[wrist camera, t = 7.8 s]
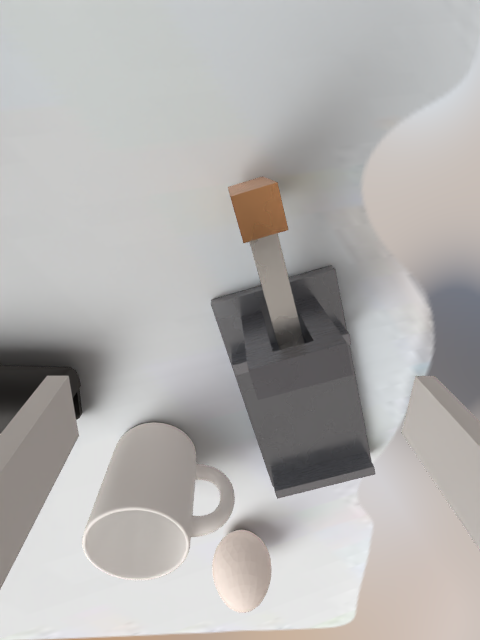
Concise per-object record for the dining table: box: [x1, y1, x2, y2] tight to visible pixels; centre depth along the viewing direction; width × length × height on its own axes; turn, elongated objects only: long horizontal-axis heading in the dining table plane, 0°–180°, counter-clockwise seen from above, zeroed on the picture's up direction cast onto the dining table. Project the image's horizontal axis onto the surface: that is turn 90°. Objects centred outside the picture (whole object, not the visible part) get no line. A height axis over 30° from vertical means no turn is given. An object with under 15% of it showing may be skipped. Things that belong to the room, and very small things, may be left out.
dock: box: [211, 266, 375, 498], centre depth 32 cm, size 22×11×10 cm, turn 16°
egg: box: [212, 530, 271, 613], centre depth 40 cm, size 6×6×8 cm
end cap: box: [0, 365, 82, 434], centre depth 32 cm, size 10×7×7 cm
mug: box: [82, 422, 235, 580], centre depth 34 cm, size 12×8×10 cm
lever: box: [228, 177, 304, 350], centre depth 26 cm, size 15×3×8 cm, turn 16°
